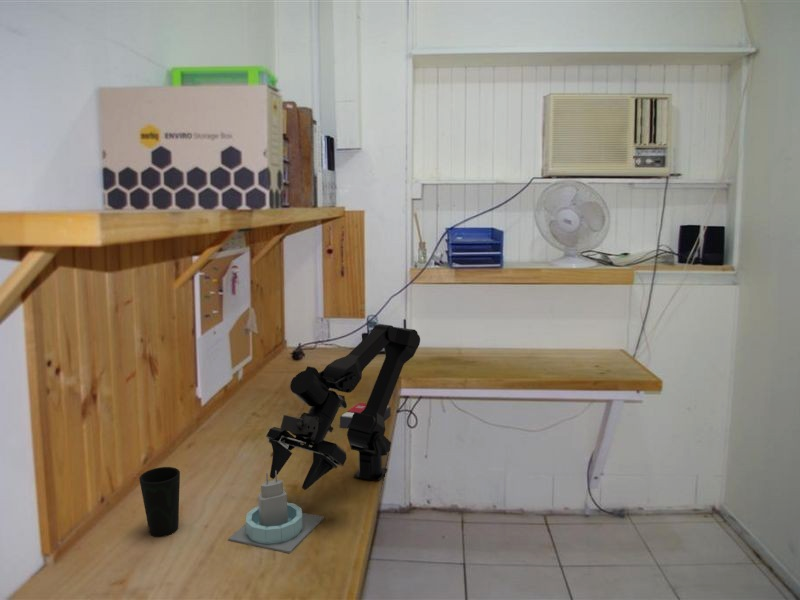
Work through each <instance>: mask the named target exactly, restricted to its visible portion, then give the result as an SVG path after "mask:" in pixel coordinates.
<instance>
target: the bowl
mask: <svg viewBox="0 0 800 600" xmlns="http://www.w3.org/2000/svg"><path fill="white" fill-rule="evenodd" d="M287 512H288V523H285V524H283V525H280V526H270V527H266V526H261V525H259V507H258V505H257V506H254V508H252V509H251V510H250V511H248V512H247V513H246V516H245V517H246V518H245V524H246V534H247V535H248V537H249V539H250V540H252V541H254V542H256V543H260V544H279V543H283V542H286V541H289V540H291V539H293V538H295V537H296V536H297V535H299V534H300V532H301V530H302V513H303V509H302V508H301V507H300V506H298V504H295V503H294V502H293V503H291V502H288V501H287Z"/></svg>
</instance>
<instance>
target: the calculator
mask: <svg viewBox="0 0 800 600" xmlns="http://www.w3.org/2000/svg"><path fill="white" fill-rule="evenodd" d="M366 405H367V402H366V403H365V402H358V403H357V404H356V405H354V406H353V407H351V408H349V409H348V410H347V411H346V412H345V413H343V414H342V415H340V416H339V428H340V429H347V430H348V429H349V428H348V426H349V424H350V422H351V420H352V416H353V414H354V413H355V412H357V413H360V412H362V411H363V410H364V409H365V407H366ZM391 415H392V414H391V406H389V405H388V406H387V409H386V412H385V414H384V422H386V420H388V419H389V418H390V416H391Z"/></svg>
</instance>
